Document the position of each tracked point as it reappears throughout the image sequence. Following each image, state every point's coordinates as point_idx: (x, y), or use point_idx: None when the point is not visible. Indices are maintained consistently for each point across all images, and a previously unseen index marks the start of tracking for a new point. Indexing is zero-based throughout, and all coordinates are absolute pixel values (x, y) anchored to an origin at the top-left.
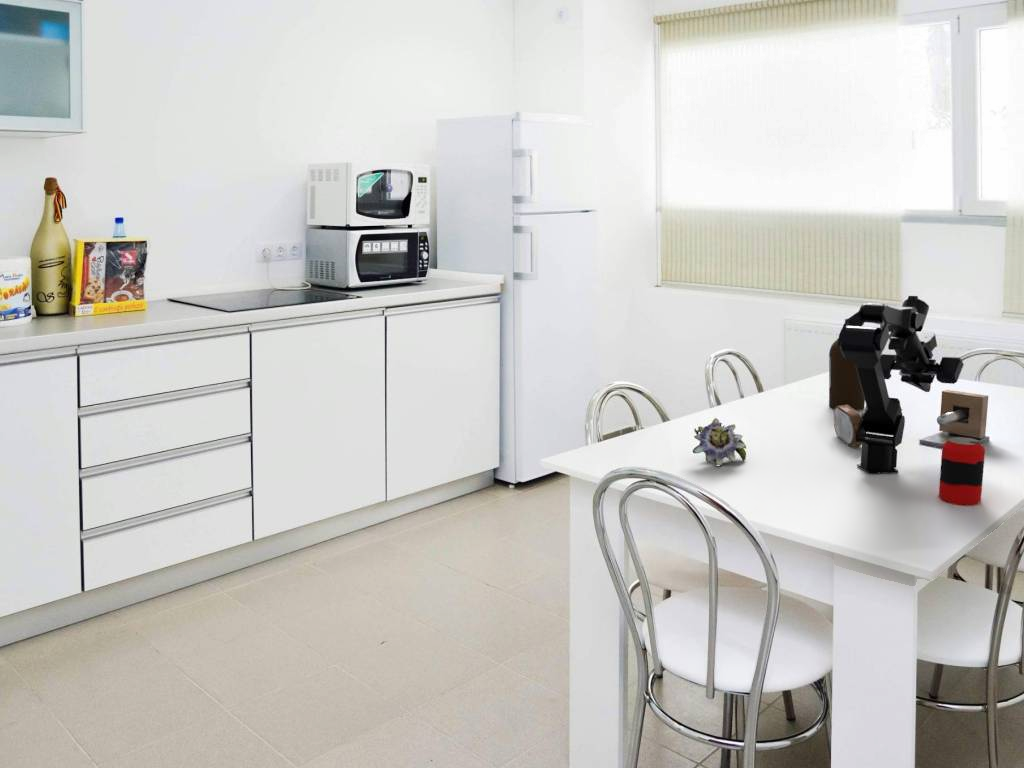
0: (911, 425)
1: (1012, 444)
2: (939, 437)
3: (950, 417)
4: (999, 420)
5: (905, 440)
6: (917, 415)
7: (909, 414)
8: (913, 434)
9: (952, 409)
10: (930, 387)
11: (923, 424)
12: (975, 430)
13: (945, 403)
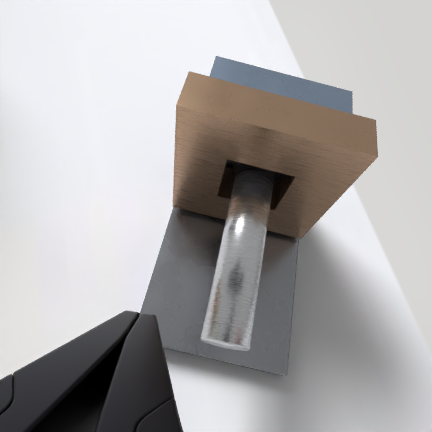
0: (75, 127)
1: (355, 203)
2: (188, 269)
3: (254, 305)
4: (251, 25)
5: (80, 320)
6: (78, 36)
7: (57, 33)
8: (95, 223)
9: (222, 170)
10: (157, 323)
11: (106, 106)
12: (293, 225)
13: (193, 149)
